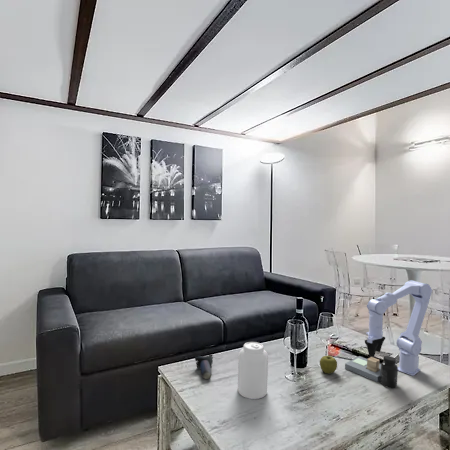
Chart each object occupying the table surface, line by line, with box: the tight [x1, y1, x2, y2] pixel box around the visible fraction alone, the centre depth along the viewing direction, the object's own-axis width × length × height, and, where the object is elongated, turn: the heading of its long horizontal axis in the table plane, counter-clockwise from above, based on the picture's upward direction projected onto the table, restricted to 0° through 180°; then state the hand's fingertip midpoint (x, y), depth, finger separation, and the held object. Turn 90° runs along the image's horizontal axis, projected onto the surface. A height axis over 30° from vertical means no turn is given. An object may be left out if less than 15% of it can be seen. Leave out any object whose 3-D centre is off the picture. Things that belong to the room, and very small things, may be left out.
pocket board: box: [344, 355, 381, 383], centre depth 157 cm, size 14×16×3 cm
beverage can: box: [194, 354, 214, 380], centre depth 150 cm, size 9×8×12 cm
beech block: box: [366, 356, 381, 372], centre depth 153 cm, size 4×4×7 cm
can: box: [237, 341, 269, 400], centre depth 135 cm, size 12×12×20 cm
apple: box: [319, 355, 338, 375], centre depth 154 cm, size 8×8×7 cm
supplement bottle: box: [379, 355, 399, 389], centre depth 144 cm, size 7×7×12 cm
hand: (374, 353), depth 152 cm, fingers open, 7 cm apart
